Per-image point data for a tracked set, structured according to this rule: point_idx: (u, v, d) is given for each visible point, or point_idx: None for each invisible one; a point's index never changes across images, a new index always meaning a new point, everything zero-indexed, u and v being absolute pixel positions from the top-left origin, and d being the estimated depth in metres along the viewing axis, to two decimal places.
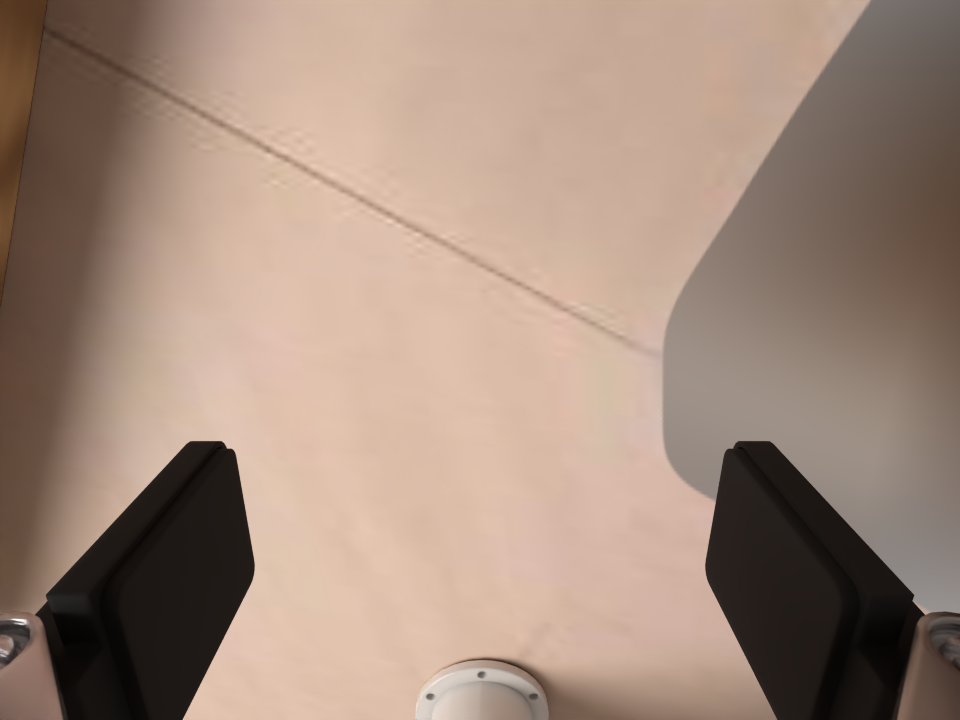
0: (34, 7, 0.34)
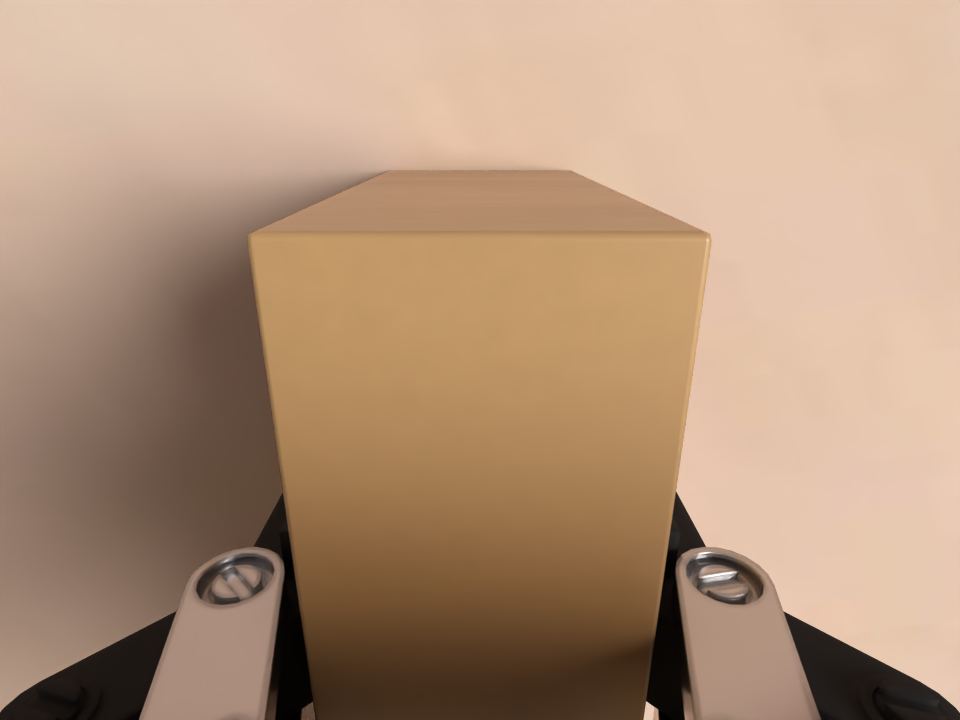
0: None
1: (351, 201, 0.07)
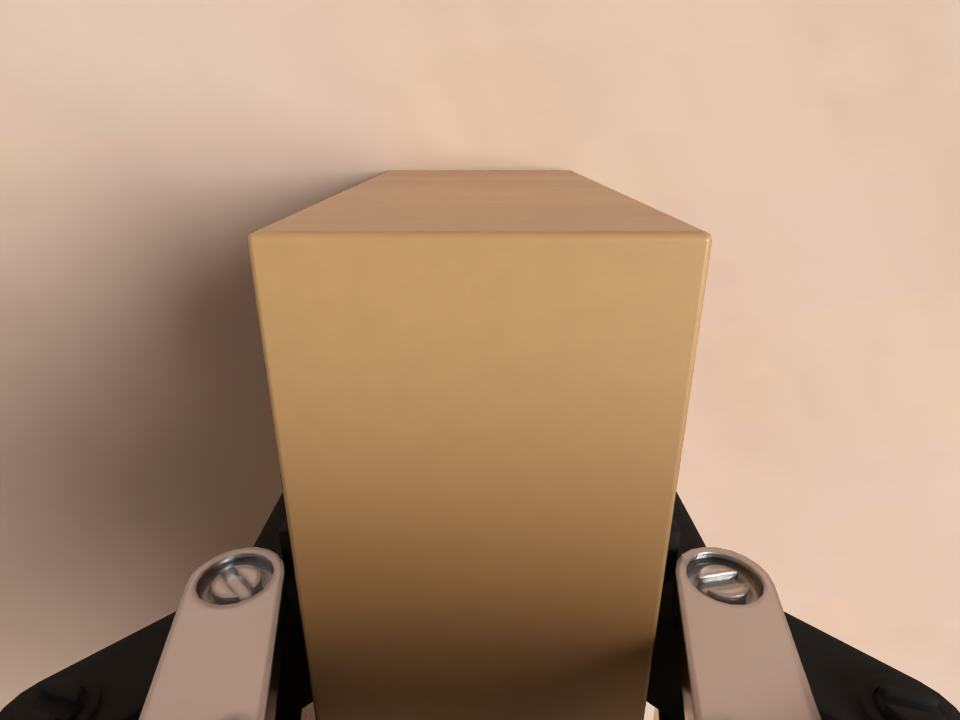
0: None
1: (351, 201, 0.07)
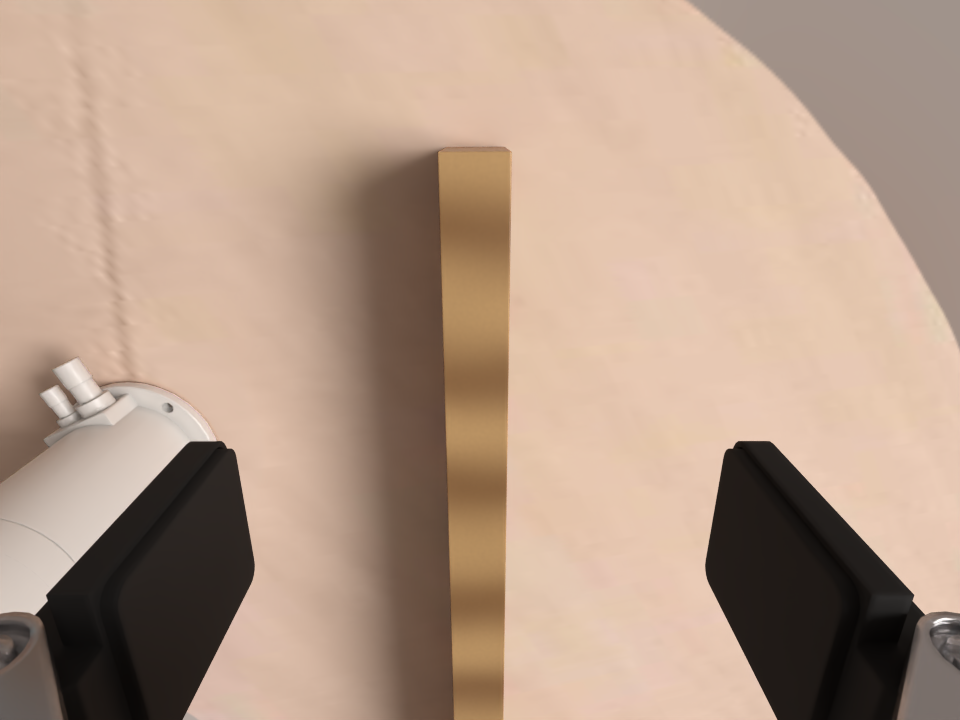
0: None
1: None
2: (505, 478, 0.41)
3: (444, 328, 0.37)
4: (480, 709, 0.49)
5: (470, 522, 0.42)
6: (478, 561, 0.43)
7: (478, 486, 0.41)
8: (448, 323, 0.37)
